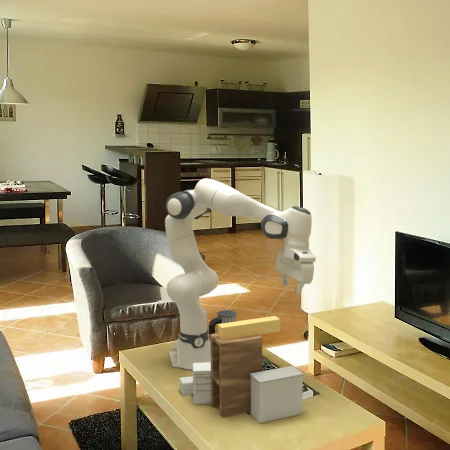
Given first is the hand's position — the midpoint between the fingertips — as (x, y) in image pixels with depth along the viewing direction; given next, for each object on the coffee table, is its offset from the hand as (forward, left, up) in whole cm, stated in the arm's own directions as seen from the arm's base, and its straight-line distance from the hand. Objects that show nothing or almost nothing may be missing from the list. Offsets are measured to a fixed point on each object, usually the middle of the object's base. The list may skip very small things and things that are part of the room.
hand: (291, 289), depth 215 cm
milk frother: (-46, -5, -38) cm, 60 cm away
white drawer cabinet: (-4, -33, -38) cm, 51 cm away
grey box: (+16, -14, -38) cm, 44 cm away
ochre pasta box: (+6, -20, -12) cm, 24 cm away
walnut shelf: (+6, -25, -38) cm, 46 cm away
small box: (-12, -36, -39) cm, 54 cm away
